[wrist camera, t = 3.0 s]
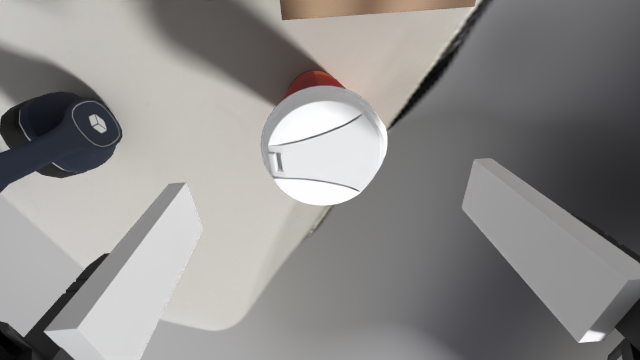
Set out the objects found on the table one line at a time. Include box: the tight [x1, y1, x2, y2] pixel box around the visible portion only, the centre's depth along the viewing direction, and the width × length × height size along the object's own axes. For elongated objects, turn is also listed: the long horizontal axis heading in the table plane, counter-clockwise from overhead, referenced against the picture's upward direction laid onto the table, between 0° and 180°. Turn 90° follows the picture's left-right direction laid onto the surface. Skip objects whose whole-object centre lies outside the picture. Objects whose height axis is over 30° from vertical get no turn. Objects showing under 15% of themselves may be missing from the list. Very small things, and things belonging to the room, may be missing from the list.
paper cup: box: [261, 71, 387, 205], centre depth 21 cm, size 8×8×14 cm
